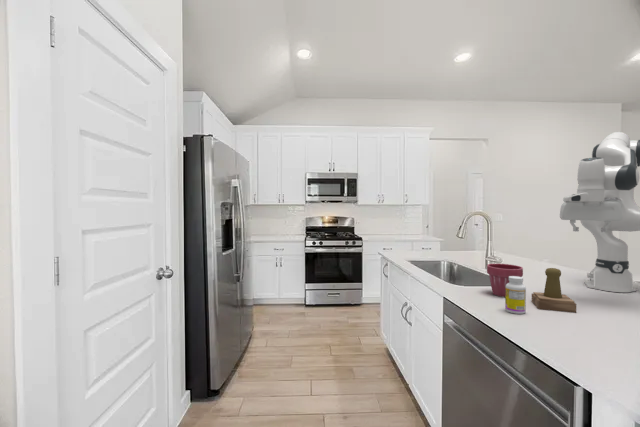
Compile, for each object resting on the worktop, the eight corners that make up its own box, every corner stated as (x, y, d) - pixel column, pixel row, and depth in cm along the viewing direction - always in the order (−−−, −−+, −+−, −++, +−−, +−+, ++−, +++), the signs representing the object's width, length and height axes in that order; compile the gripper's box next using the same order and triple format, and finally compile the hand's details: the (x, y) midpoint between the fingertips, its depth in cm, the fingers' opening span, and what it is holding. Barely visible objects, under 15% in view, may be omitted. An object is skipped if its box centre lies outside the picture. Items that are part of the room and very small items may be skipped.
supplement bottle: (508, 308, 133) (509, 274, 133) (528, 311, 129) (528, 277, 128) (502, 311, 129) (503, 277, 128) (522, 315, 124) (523, 279, 124)
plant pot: (521, 300, 144) (522, 270, 144) (484, 295, 152) (485, 266, 151) (522, 293, 156) (523, 265, 156) (488, 289, 164) (488, 262, 163)
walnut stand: (531, 301, 143) (531, 291, 143) (565, 304, 139) (566, 294, 139) (538, 309, 132) (538, 298, 132) (576, 312, 128) (576, 301, 128)
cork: (557, 294, 138) (558, 267, 138) (565, 298, 132) (565, 270, 132) (540, 294, 139) (541, 266, 139) (547, 297, 133) (548, 269, 133)
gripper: (618, 197, 139) (617, 232, 140) (558, 197, 146) (558, 230, 147) (626, 197, 133) (625, 233, 134) (563, 197, 140) (562, 231, 141)
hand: (589, 231), depth 140 cm, fingers open, 8 cm apart
